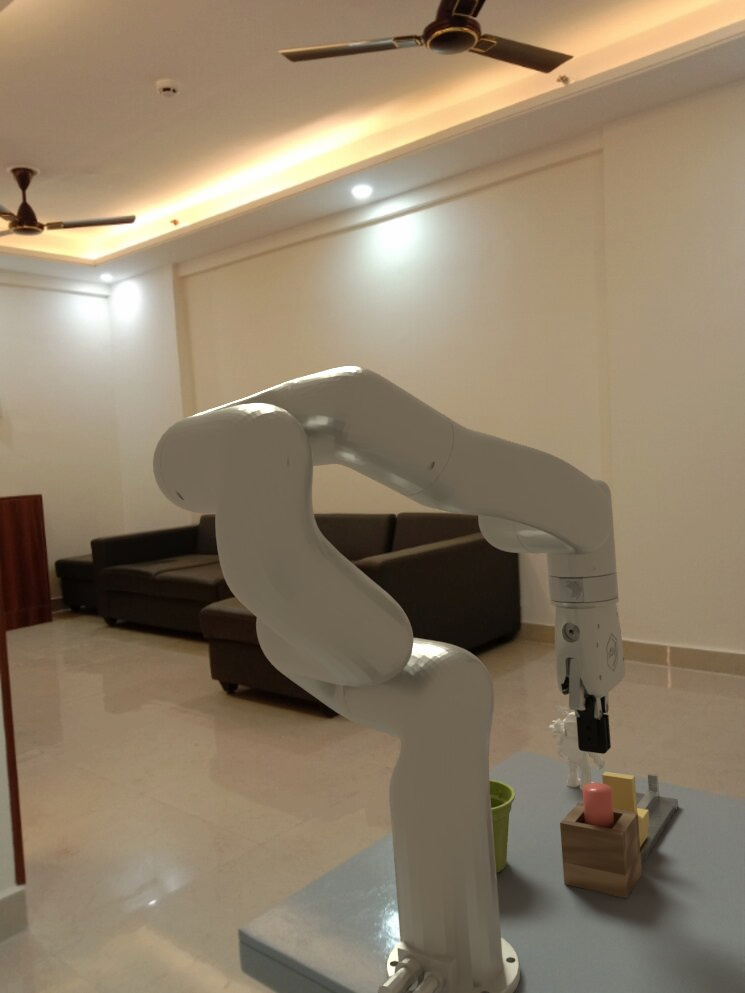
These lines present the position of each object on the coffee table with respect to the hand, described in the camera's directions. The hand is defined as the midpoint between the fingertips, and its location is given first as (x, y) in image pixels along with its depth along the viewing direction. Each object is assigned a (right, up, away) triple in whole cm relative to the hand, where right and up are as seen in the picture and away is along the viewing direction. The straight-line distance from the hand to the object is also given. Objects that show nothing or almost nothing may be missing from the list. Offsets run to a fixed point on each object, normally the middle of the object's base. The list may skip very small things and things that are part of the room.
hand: (594, 749), depth 90 cm
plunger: (+1, -9, 0) cm, 9 cm away
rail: (+8, -14, +11) cm, 20 cm away
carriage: (+5, -13, +7) cm, 15 cm away
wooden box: (+1, -15, 0) cm, 15 cm away
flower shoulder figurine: (+5, -14, +26) cm, 30 cm away
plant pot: (-12, -16, +6) cm, 21 cm away
